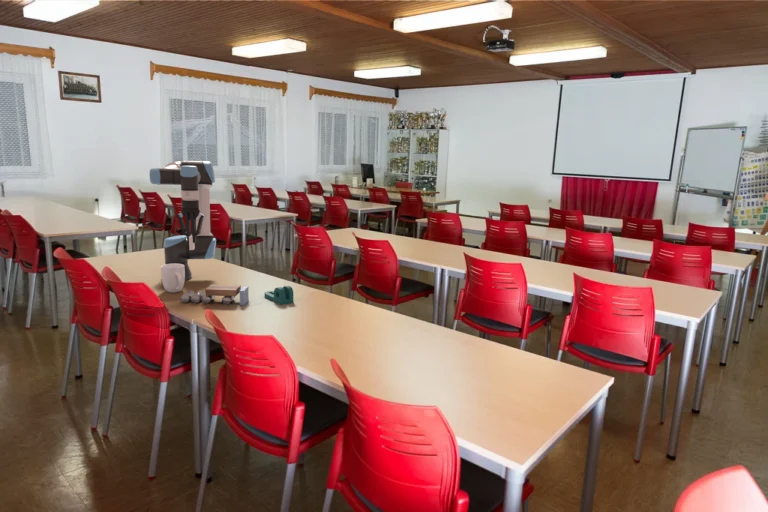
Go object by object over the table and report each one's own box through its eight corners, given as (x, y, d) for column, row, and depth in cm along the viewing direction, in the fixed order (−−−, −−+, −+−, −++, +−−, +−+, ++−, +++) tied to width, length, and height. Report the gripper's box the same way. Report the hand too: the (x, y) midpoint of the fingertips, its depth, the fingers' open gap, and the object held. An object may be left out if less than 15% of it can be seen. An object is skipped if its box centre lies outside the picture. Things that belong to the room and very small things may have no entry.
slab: (211, 290, 247) (211, 284, 246) (240, 291, 247) (240, 285, 246) (205, 295, 238) (205, 289, 237) (235, 296, 238) (235, 290, 238)
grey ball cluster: (186, 298, 247) (186, 290, 246) (215, 299, 247) (215, 291, 247) (180, 302, 239) (179, 294, 239) (210, 304, 239) (209, 295, 239)
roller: (225, 294, 247) (232, 290, 247) (229, 301, 248) (236, 297, 247) (220, 298, 239) (227, 295, 239) (224, 306, 240) (231, 302, 239)
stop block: (244, 300, 247) (244, 286, 246) (248, 300, 247) (248, 286, 246) (239, 305, 240) (239, 290, 238) (244, 305, 240) (243, 290, 238)
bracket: (293, 302, 247) (293, 287, 245) (281, 305, 242) (281, 289, 241) (273, 294, 260) (273, 279, 258) (262, 296, 255) (261, 281, 253)
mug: (192, 293, 256) (191, 267, 253) (170, 296, 248) (169, 270, 246) (180, 286, 266) (179, 262, 264) (158, 290, 259) (157, 265, 256)
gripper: (172, 199, 233) (175, 250, 238) (201, 200, 233) (203, 251, 238) (179, 198, 240) (181, 247, 245) (206, 199, 240) (208, 248, 245)
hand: (192, 249), depth 241 cm, fingers closed
